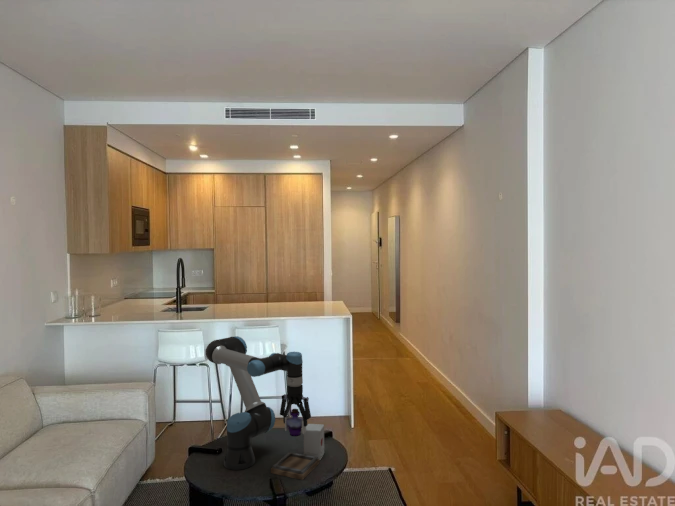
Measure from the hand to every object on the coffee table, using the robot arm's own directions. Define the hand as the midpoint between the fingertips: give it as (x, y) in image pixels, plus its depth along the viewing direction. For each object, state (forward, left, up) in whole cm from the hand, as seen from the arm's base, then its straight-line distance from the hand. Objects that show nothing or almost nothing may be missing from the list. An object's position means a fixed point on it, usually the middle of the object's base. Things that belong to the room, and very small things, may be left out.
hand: (295, 431), depth 224 cm
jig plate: (0, 0, -18) cm, 18 cm away
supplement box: (+2, +15, -18) cm, 24 cm away
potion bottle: (0, 0, -2) cm, 2 cm away
